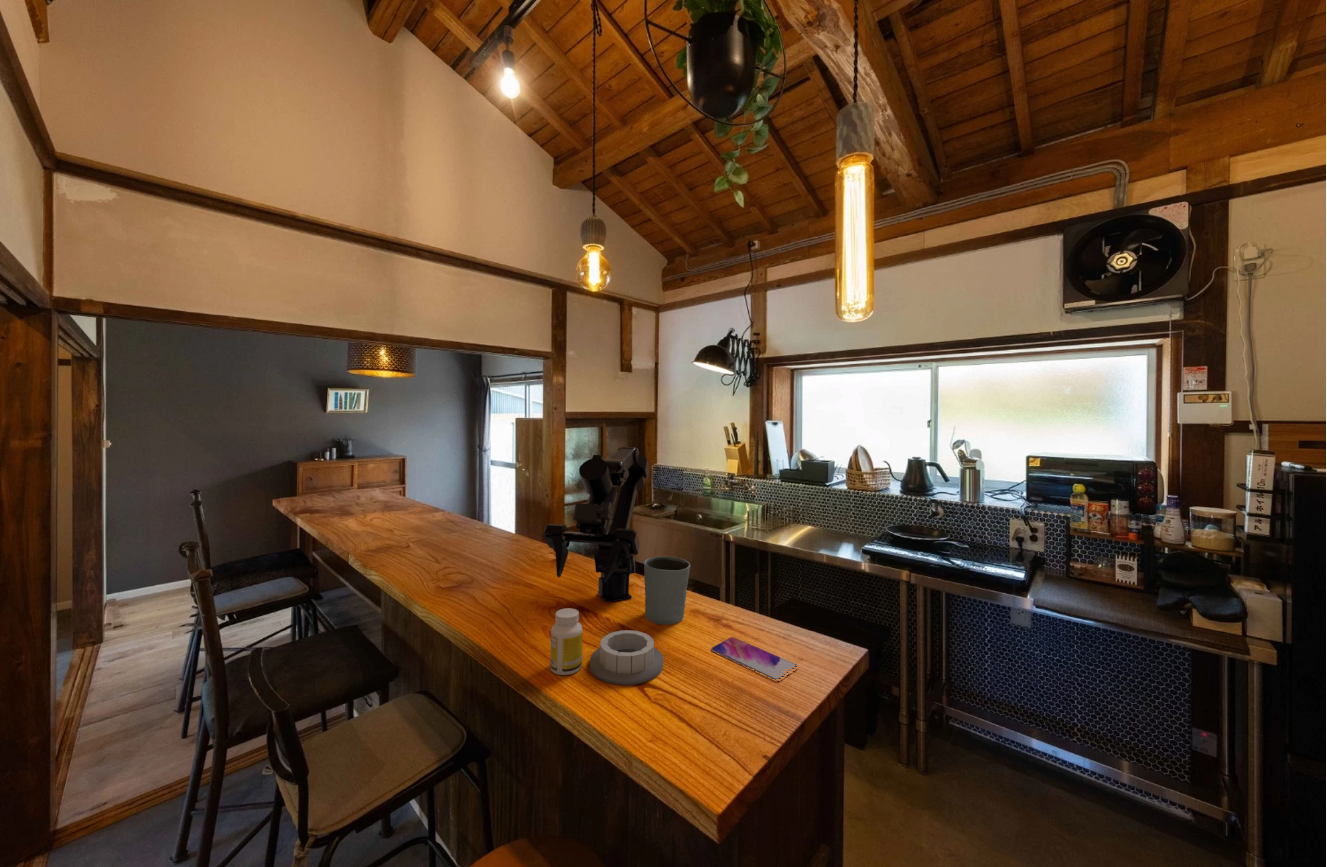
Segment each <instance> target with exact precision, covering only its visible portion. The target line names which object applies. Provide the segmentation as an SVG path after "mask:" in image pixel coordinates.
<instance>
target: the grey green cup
mask: <svg viewBox="0 0 1327 867" xmlns="http://www.w3.org/2000/svg"><path fill="white" fill-rule="evenodd" d="M690 569H691V564H690V562H689V561H687V560H686V559H683V558H680V557H675V556H667V555H666V556H665V555H664V556H653V557H650V558H647V559H645V560H644V562H643V571H644V596H645V597H644V603H645V604H644V616H645V618H647V619H646V620H647V621H649V622H651V623H653V624H656V625H665V626H667V625H668V626H669V625H674V624H678V623H680V622H681V621H683V619H684V617H685V616H684V615H685V608H686V601H687V600H686V598H687V593H688V591H687V589H688V584H689V576H690Z"/></svg>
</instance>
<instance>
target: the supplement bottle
mask: <svg viewBox="0 0 1327 867" xmlns="http://www.w3.org/2000/svg"><path fill="white" fill-rule="evenodd" d="M554 616H555V621H554V622H555V623H554V624H553V625H552V627H551V629H550V664H549V667H550V671H551V672H552V673H554V674H555V675H560V676H569V675H572V674H575V673H577V672H578V671H580V670H581V668H582V663H583V626H582V623H580V622H579V619H580V612H579V610H578V609H575V608H569V607H567V608H561V609H558V610H557V611H556V612H555V615H554Z"/></svg>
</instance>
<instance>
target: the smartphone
mask: <svg viewBox="0 0 1327 867" xmlns="http://www.w3.org/2000/svg"><path fill="white" fill-rule="evenodd" d="M710 650H712V651H714V652H715V653H714V652H713V653H714V654H716V653H719V654H720V655H722V656H723V658H724V657H727V660H728V659H730V660H732V661H731V662H733V661H735V662H736V663H735V662H734V663H735V664H737V663H739V664H741V665H744V666H745V667H749V668H750V669H754V671H757V672H759V673H762V674H764V675H766V676H767V677H770V678H771V679H775V680H776V679H781V678H780V677H784V676H782V675H785V674H784V673H788V672H784V671H790V670H787V669H794V668H792V667H797V666H798V665H797V664H796V663H795V664H794V662H792V661H790V660H788V659H785V658H784V657H780V656H778V655H775V654H773V653H772V652H769V651H767V650H764V649H762V648H760V647H758V646H756V645H753V644H750V643H749V642H747V641H743V640H741V639H739V638H737V637H735V636H731V637H729V638H726V639H725V640H723V641H721V642H719V643H718V644H716V645H714V646H712V647H711V648H710ZM712 651H711V652H712ZM720 655H719V656H720ZM722 656H721V657H722ZM730 660H729V661H730ZM739 664H738V665H739ZM741 665H740V666H741ZM794 665H795V666H794ZM796 665H797V666H796ZM745 667H744V668H745ZM785 669H786V670H785ZM782 671H783V672H782ZM781 673H782V674H781ZM780 675H781V676H780Z"/></svg>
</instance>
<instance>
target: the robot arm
mask: <svg viewBox="0 0 1327 867" xmlns="http://www.w3.org/2000/svg"><path fill="white" fill-rule="evenodd" d="M639 450H640V449H639V448H636V447H635V446H634V447H632V446H629V447H628V446H621V447H618V449H617V451H616V452H615V453H614V454H612V456H611V457H609V458H604V456H603V454H593V455H592V458H589V459H587V460H585V461H584V462H582V464H581V465H580V466H579V469H578V471H579V472H578V473H579V476H580V479H581V481H582V484H583V487H584V490H585V492H586V494H588V498H587V502H586V503H584V502H581V503H580V502H577V503H575V504H574V505H575V506H574V512H573V517H572V519H573V521H576V523H575V526H576V529H578V530H579V531H569V530H568V528H567V525H566V524H561V523H548V524H546V526H544V529H543V532H542V536H543V538H544V540H545V541H546V543H547V546H548V547H549V548H550V549H552V550H553V552H554V553H555V566H556V569H555V570H556V576H557V578H558V579H559V578H561V577H562V575H563V572H564V568H565V565H566V563H567V558H568V555H569V550H568V548H569V546H570V544H571V543H584V544H595V545H596V544H597V547H596V548H595V550H594V565H595V566H594V567H595V573H600V576H599V577H598V591H597V594H598V595H599V596H600V597H601V598H602V599H603V600H604V601H605V603H611V602H612V603H613V602H618V601H623V600H629V599H632V598H633V597H632V595H631V594H630V593H629V592H630V575H631V574H632V575H633V574H635V572H636V563H635V556H637V555H638V554H639V550H640V540H639V536H638V532H637V530H636V529H635V528H630V526H631V522H632V518H633V514H634V513H633V512H634V508H635V505H636V499H637V494H638V492H639V491H641V490H642V489H643V488H644V487H645V485H646V481H647V479H648V478H649V476H650V465H649V462H648V458H646V457H645V456H644V455H642V454H641V453H640V451H639ZM615 487H620V489H619V492H617V489H616V488H615ZM615 504H616V505H615Z"/></svg>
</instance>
